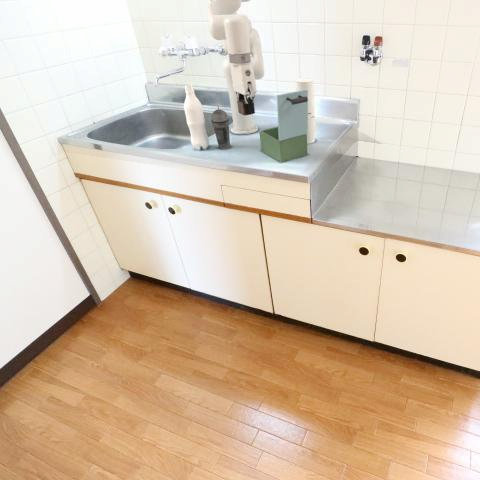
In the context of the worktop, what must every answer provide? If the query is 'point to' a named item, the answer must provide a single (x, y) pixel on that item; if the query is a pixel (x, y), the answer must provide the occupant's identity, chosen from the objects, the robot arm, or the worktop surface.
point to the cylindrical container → (308, 85)
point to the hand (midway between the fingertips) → (246, 112)
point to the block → (242, 107)
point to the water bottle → (195, 119)
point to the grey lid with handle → (292, 114)
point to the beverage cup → (221, 127)
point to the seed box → (282, 145)
